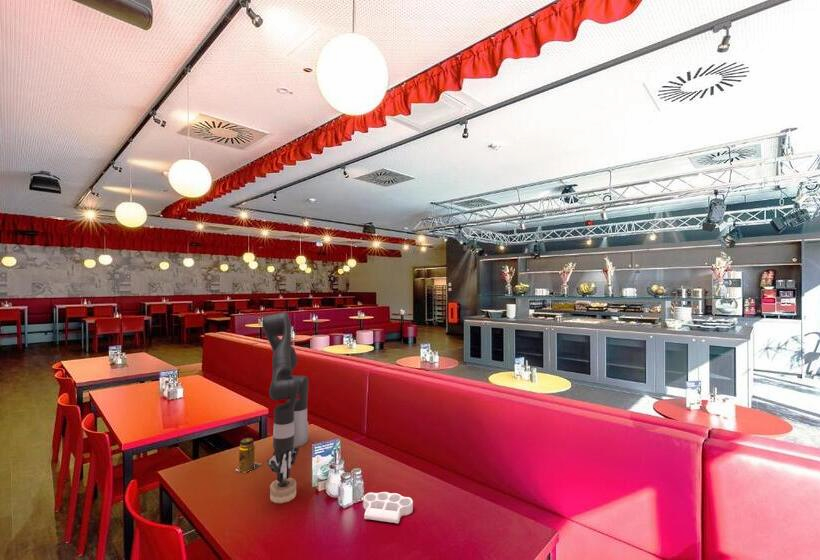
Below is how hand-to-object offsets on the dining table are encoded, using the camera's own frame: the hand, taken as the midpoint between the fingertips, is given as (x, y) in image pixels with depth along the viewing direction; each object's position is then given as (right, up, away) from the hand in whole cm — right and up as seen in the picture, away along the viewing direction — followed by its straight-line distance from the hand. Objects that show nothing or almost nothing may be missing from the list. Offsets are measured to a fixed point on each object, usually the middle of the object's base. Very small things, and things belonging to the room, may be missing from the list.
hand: (283, 479), depth 140 cm
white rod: (0, -4, 0) cm, 4 cm away
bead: (0, -6, 0) cm, 6 cm away
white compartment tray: (+39, -7, -8) cm, 41 cm away
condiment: (-22, -6, +22) cm, 32 cm away
